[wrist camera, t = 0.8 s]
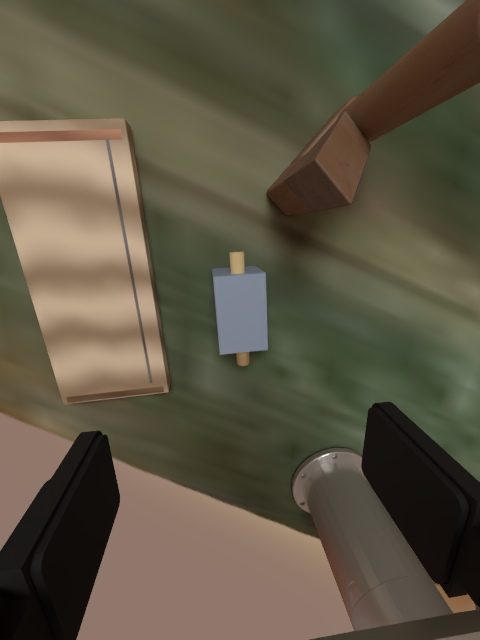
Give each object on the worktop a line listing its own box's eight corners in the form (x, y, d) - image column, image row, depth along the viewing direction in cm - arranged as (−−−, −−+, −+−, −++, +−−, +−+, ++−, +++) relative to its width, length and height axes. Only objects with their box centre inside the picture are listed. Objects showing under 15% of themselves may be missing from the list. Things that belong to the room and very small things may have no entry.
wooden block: (264, 193, 30) (345, 140, 13) (337, 109, 28) (542, -80, 11) (287, 218, 31) (390, 200, 14) (358, 139, 29) (576, 8, 12)
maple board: (170, 383, 35) (168, 392, 33) (71, 394, 34) (63, 404, 32) (130, 126, 26) (124, 118, 24) (-5, 129, 25) (-22, 121, 23)
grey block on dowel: (258, 345, 35) (268, 366, 29) (218, 349, 34) (221, 372, 29) (254, 247, 31) (265, 251, 26) (210, 250, 31) (211, 255, 25)
